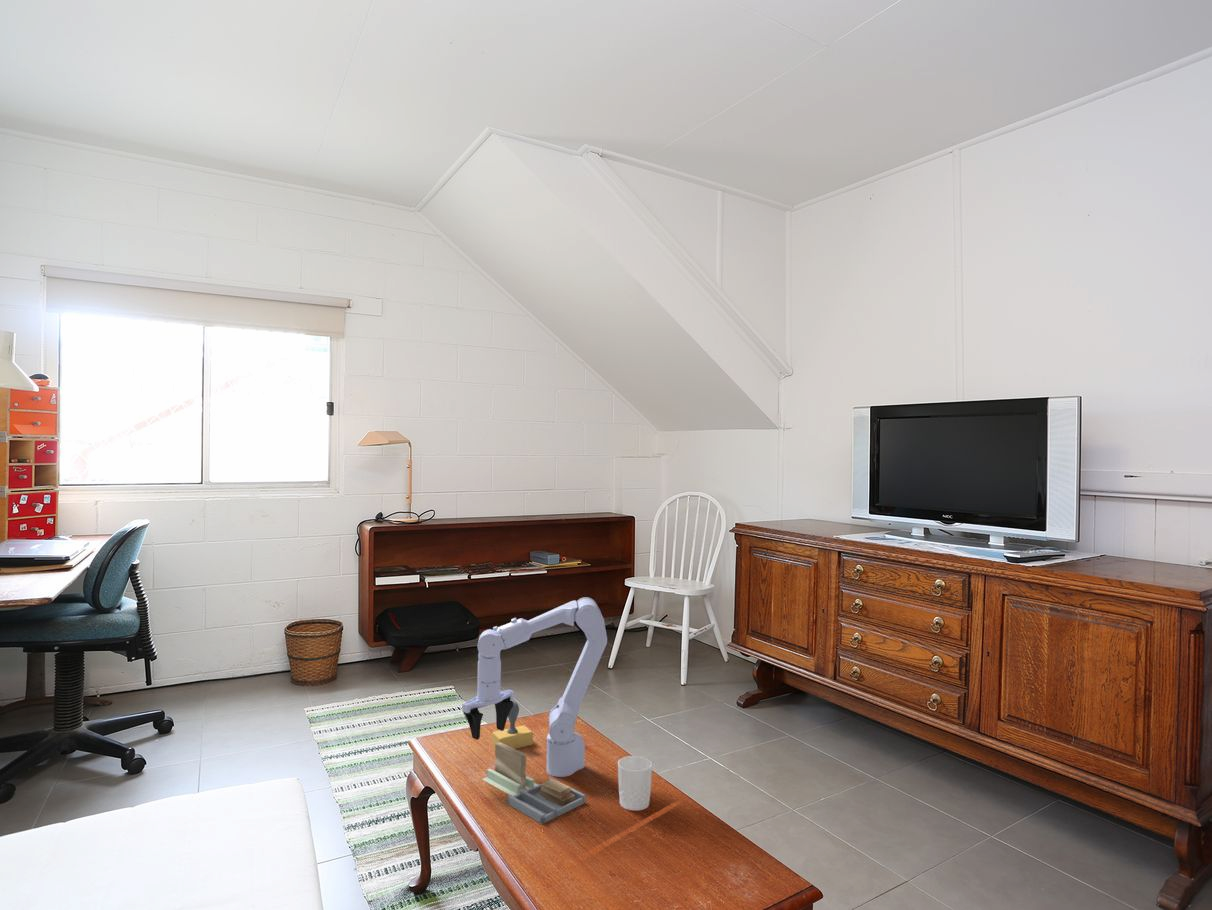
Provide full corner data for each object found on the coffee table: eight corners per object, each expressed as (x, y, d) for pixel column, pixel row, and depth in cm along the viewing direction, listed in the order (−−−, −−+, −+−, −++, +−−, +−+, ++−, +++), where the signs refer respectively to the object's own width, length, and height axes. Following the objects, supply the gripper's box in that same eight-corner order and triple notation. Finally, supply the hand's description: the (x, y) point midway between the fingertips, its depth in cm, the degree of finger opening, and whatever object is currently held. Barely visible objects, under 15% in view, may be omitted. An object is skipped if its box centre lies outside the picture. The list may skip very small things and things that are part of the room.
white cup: (656, 802, 165) (657, 759, 165) (644, 818, 158) (644, 773, 158) (625, 795, 168) (625, 753, 168) (611, 810, 161) (612, 766, 161)
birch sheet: (500, 774, 176) (500, 742, 176) (525, 788, 169) (526, 754, 169) (495, 776, 175) (495, 743, 175) (520, 790, 168) (521, 756, 168)
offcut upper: (550, 785, 168) (551, 779, 168) (570, 792, 164) (570, 786, 164) (541, 790, 166) (541, 784, 166) (560, 798, 162) (560, 792, 162)
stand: (507, 771, 180) (507, 761, 180) (538, 788, 171) (538, 777, 171) (481, 782, 174) (481, 771, 174) (512, 799, 165) (512, 788, 165)
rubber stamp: (499, 752, 191) (500, 708, 191) (491, 744, 196) (492, 701, 196) (533, 745, 196) (533, 702, 196) (524, 737, 201) (525, 695, 201)
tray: (550, 788, 171) (550, 777, 171) (585, 806, 163) (585, 794, 163) (507, 807, 162) (507, 796, 162) (542, 827, 154) (542, 815, 154)
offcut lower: (552, 789, 169) (552, 783, 169) (575, 801, 163) (575, 795, 163) (540, 794, 166) (540, 788, 166) (563, 807, 161) (563, 801, 161)
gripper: (502, 669, 185) (501, 721, 185) (455, 682, 174) (454, 737, 174) (519, 675, 180) (518, 729, 180) (472, 689, 169) (471, 746, 170)
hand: (488, 733), depth 177 cm, fingers open, 7 cm apart
